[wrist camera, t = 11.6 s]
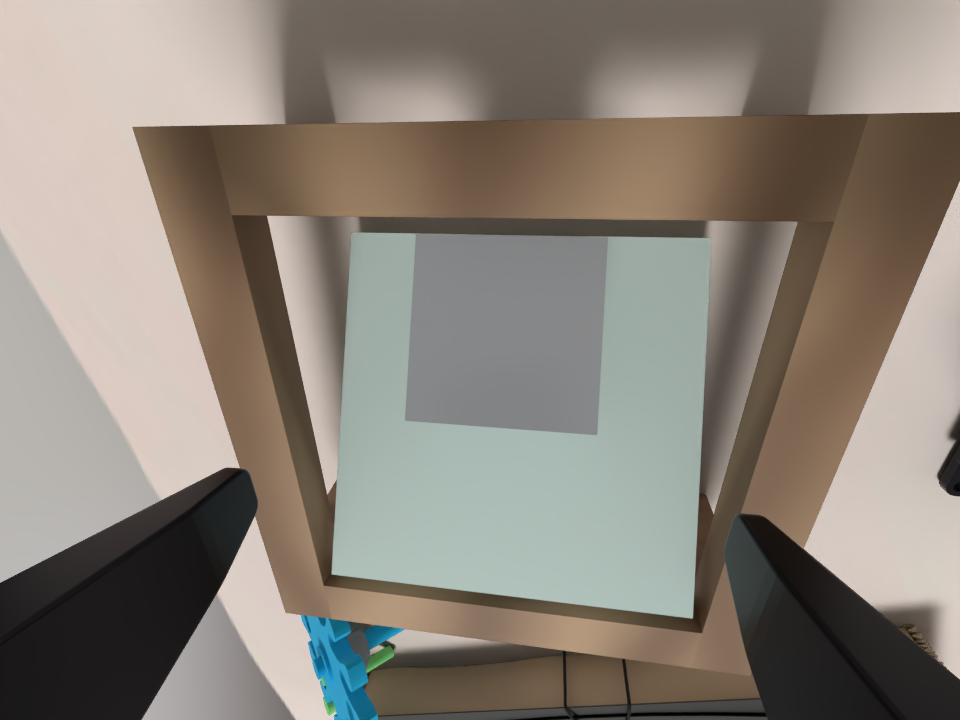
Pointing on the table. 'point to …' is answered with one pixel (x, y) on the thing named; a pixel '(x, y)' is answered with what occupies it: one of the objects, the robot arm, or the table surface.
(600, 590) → the trapdoor
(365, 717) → the gear
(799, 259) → the frame
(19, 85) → the table surface
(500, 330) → the stone block
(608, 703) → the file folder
